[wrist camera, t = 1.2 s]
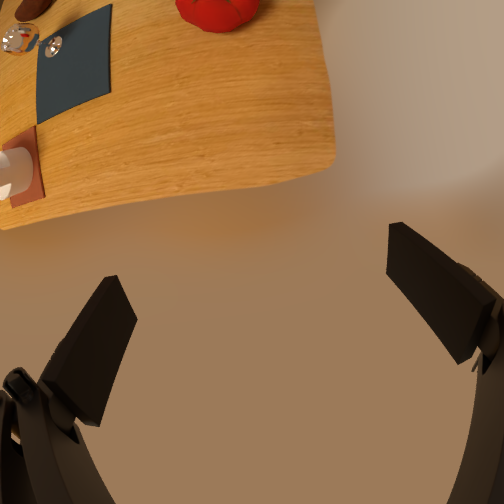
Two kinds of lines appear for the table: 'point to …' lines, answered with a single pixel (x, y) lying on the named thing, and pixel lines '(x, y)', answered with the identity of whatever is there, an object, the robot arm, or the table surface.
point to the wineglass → (27, 40)
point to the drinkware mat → (75, 65)
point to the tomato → (217, 13)
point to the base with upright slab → (15, 171)
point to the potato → (30, 9)
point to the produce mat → (36, 186)
